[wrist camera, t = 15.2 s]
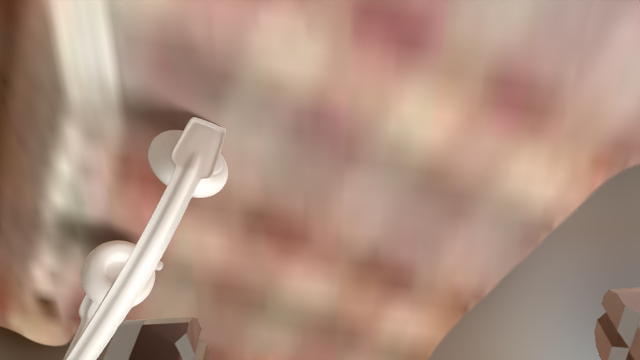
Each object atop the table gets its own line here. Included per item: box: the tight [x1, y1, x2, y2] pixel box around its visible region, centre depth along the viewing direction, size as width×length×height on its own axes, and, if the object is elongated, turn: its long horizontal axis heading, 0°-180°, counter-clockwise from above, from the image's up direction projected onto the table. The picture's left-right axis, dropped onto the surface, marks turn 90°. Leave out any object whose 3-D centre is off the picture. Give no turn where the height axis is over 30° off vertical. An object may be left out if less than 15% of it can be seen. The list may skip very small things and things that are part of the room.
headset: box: [64, 117, 228, 360], centre depth 41 cm, size 20×7×18 cm, turn 146°
